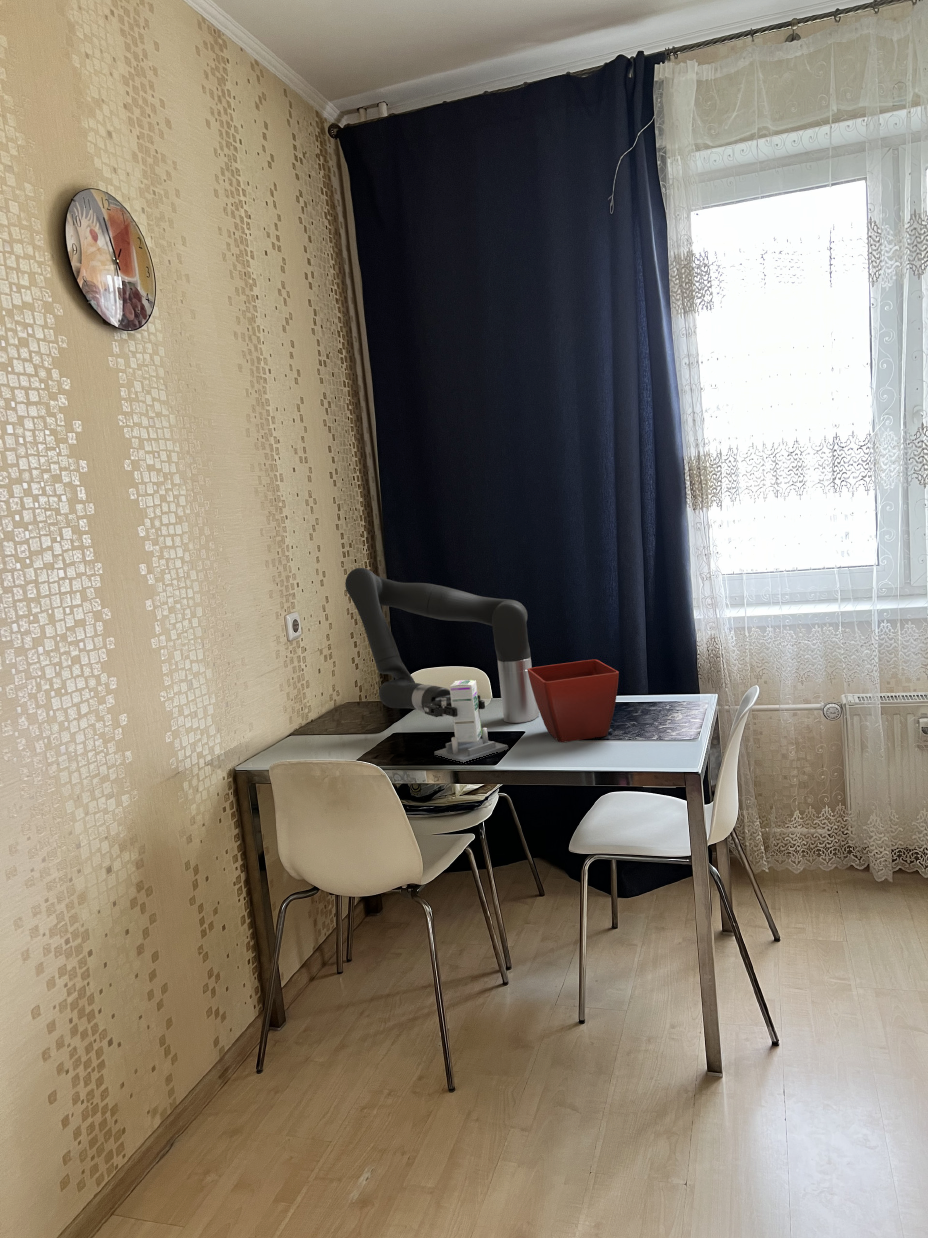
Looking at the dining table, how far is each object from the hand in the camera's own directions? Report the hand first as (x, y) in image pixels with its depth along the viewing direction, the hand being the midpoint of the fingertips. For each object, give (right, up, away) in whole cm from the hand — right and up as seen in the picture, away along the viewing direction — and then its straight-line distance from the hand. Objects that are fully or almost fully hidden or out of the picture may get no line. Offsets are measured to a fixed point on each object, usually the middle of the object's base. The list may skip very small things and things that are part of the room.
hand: (470, 708), depth 223 cm
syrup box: (0, -8, +3) cm, 8 cm away
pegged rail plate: (0, -11, +3) cm, 12 cm away
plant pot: (+28, -8, +9) cm, 30 cm away
